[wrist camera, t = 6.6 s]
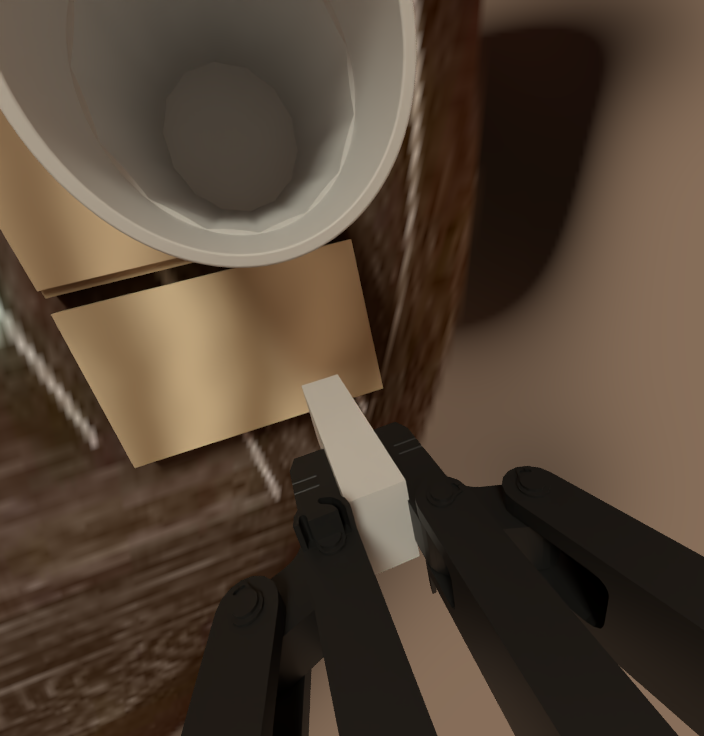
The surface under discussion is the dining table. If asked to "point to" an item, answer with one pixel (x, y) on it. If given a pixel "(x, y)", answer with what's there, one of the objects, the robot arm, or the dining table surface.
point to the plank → (223, 350)
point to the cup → (213, 115)
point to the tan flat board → (62, 229)
